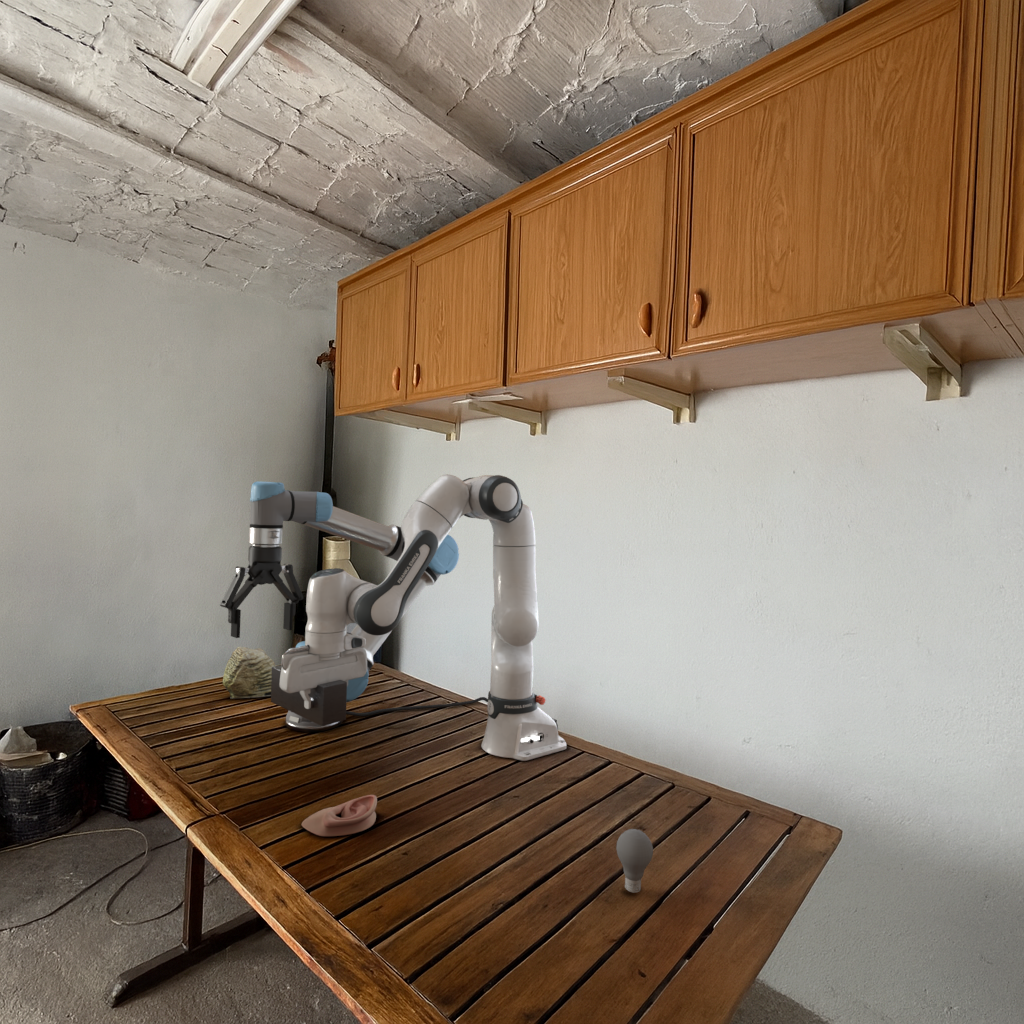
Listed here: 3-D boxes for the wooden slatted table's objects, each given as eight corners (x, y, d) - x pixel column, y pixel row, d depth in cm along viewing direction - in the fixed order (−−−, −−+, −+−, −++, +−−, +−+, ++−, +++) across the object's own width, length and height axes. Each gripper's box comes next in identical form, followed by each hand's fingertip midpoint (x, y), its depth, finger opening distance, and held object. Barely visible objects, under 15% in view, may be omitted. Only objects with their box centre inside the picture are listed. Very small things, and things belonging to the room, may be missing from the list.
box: (270, 702, 150) (271, 666, 150) (293, 696, 155) (294, 662, 154) (322, 726, 136) (323, 687, 135) (346, 719, 140) (347, 682, 140)
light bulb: (610, 879, 108) (613, 822, 108) (644, 879, 109) (647, 822, 109) (619, 902, 102) (622, 840, 102) (655, 901, 103) (658, 840, 103)
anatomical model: (293, 811, 119) (323, 784, 130) (292, 831, 119) (323, 803, 130) (359, 821, 116) (384, 793, 128) (358, 842, 116) (383, 813, 128)
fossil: (218, 695, 195) (220, 647, 195) (278, 685, 208) (279, 640, 207) (228, 703, 189) (230, 653, 188) (289, 692, 201) (290, 645, 201)
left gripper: (222, 548, 141) (219, 643, 141) (319, 545, 160) (316, 628, 161) (206, 545, 145) (203, 637, 146) (302, 543, 165) (299, 624, 165)
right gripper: (290, 652, 130) (288, 719, 131) (371, 638, 146) (370, 697, 146) (274, 646, 135) (273, 711, 135) (355, 633, 150) (354, 691, 150)
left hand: (262, 633), depth 153 cm, fingers open, 13 cm apart
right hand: (324, 704), depth 141 cm, fingers closed on box, 6 cm apart
